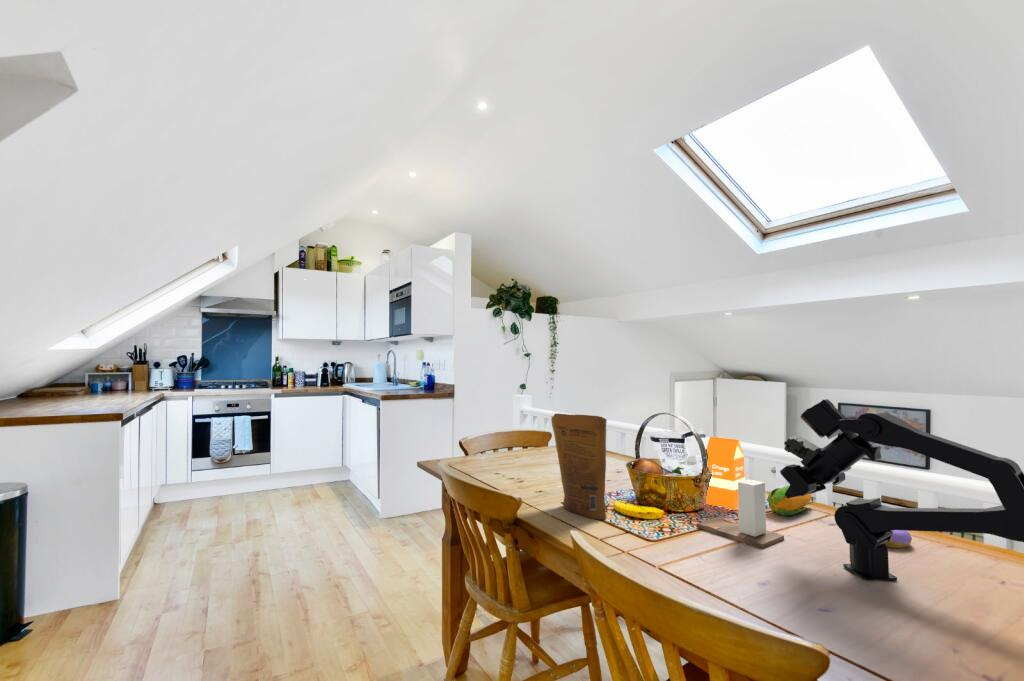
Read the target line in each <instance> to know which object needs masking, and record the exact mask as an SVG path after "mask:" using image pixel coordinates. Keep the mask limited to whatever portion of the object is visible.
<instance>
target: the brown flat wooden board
mask: <svg viewBox="0 0 1024 681" xmlns="http://www.w3.org/2000/svg"><path fill="white" fill-rule="evenodd" d="M697 527H699V528H698V529H700V528H701V530H704V531H707V532H709V533H713V534H716V535H719V536H722V537H725V538H727V539H731V540H734V541H738V542H740V543H743V544H747V545H750V546H753V547H756V548H758V549H761V550H762V549H765V548H768V547H770V546H772V545H774V544H777V543H779V542H782V541H784V540H785V535H784V534H781V533H777V532H774V531H770V530H767V529H766V533H764V534H761V535H758V536H756V537H754V536H751V535H748V534H745V533H741V532H739V520H735V519H732V518H726V517H722V516H717V517H713V518H710V519H707V520H703V521H700V522H697V523H696V528H697Z"/></svg>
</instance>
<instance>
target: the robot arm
mask: <svg viewBox="0 0 1024 681" xmlns="http://www.w3.org/2000/svg"><path fill="white" fill-rule="evenodd" d="M800 419H801V420H802V421H803V422H804V423H805V424H806V425H807V426H808V427H809V428H810V429H811V430H812V432H814V433H815V434H816V435H817V436H818V437H820V439H824V438H825V437H826V438H827V439H828V440H830V439H832V438H833V440H832V441H831V442H829V443H828V444H827V445H825V446H824V447H819V446H818V445H817V444H815V443H813V442H811V441H810V440H808V439H806V438H804V437H803V436H800V435H794V436H790V437H788V438H787V440H786V441H785V440H784V442H783V443H784V450H785V452H787V453H791V454H792V455H794V456H796V457H798V458H800V459H801V461H799V462H800V463H801V465H803V466H801V465H799V464H796V463H795V464H789V465H785V466H784V467H783V468H782V469H781V470H779V473H780V475H781V476H782V477H783V478H784V479H785V481H786V482H788V484H789V485H788V486H789V488H788V489H787V491H786V493H785V496H786V497H787V498H792V497H797V496H804V495H808V494H811V495H812V494H815V493H817V492H820V491H823V490H826V489H827V487H826V485H827V484H831V483H832V484H831V485H833V486H838V485H840V484H842V482H845V481H846V473H847V472H849V471H850V470H851V469H852V466H854V465H855V464H857V463H858V462H859V461H860V460H862V459H863V458H864V457H867V458H869V460H870V461H872V462H875V461H879V460H881V459H882V453H881V449H882V448H881V446H887V447H893V448H900V449H904V450H909V451H912V452H915V453H917V454H920V455H923V456H925V457H929V458H931V459H934V460H936V461H939V462H941V463H944V464H946V465H947V464H948V465H950V466H952V467H955V468H958V469H961V470H964V471H967V472H969V473H971V474H974V475H976V476H980V477H983V478H984V479H985V478H986V479H987V480H988V481H989V483H990V484H991V486H992V487H993V489H994V491H995V493H996V495H997V497H998V499H999V502H1000V503H1001V505H997V506H991V507H987V508H971V507H970V508H964V507H963V508H960V507H959V508H957V507H952V508H951V507H949V508H948V507H945V508H944V507H941V508H940V507H939V508H938V507H933V508H932V507H891V506H887V505H883V504H882V500H881V498H880V497H878V498H877V497H876V498H871V499H868V498H862V497H858V498H855V499H852V500H850V501H847V502H846V503H845V504H844V505H842V506H839V507H838V508H837V509H836V510H835V511H834V515H833V516H834V521H835V524H836V525H837V528H839V529H840V530H841V532H842V534H843V537H844V540H845V543H846V544H848V545H849V563H843V566H842V567H844V568H845V569H847V570H848V571H850V572H851V573H853V574H855V575H856V576H858V577H860V578H861V579H862V580H865V581H897V580H898V577H897V576H895V575H894V574H893V573H891V572H890V570H889V569H890V567H889V566H890V564H889V562H890V561H889V547H886V544H884V543H886V542H889V541H890V540H891V538H892V535H893V532H892V531H891V530H907V531H908V532H909V531H910V532H914V531H915V532H933V533H935V532H936V533H937V532H939V533H961V534H962V533H963V534H983V535H985V534H987V535H990V536H995V537H999V538H1003V539H1005V540H1006V539H1007V540H1010V541H1015V542H1020V543H1021V542H1022V543H1024V471H1023V470H1022V469H1021V467H1020V466H1019V464H1018V463H1017V462H1016V461H1014V460H1013V459H1010V458H1007V457H1002V456H997V455H995V454H992V453H989V452H986V451H982V450H979V449H976V448H974V447H970V446H968V445H965V444H962V443H958V442H955V441H953V440H949V439H947V438H943V437H941V436H937V435H935V434H931V433H929V432H926V431H923V430H921V429H919V428H917V427H915V426H913V425H911V424H910V423H908V422H907V421H906V420H903V419H902V418H900V417H897V416H896V415H893V414H891V413H889V412H886V411H881V410H880V411H873V412H872V411H871V412H866V413H863V414H860V415H858V417H857V416H849V417H847V416H845V415H844V414H843V413H842V412H841V411H840V410H839V409H838V408H837V407H836V406H835V405H834V404H833V402H832V401H831V400H830V399H822V400H821V401H820V402H817V403H816V404H814V405H813V406H811V407H809V408H806V409H805V411H803V413H801V415H800ZM836 436H837V437H836ZM834 437H835V438H834ZM872 443H873V444H877V445H873V444H872ZM878 444H879V445H878ZM880 445H881V446H880Z"/></svg>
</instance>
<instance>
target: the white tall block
mask: <svg viewBox="0 0 1024 681" xmlns="http://www.w3.org/2000/svg"><path fill="white" fill-rule="evenodd" d="M766 510H767V509H766V482H764V481H759V480H754V479H745V480H744V481H740V482H738V510H737V511H738V522H739V532H741V533H745V534H748V535H751V536H754V537H756V536H758V535H761V534H764V533H766V530H767V514H766V512H767V511H766Z"/></svg>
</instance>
